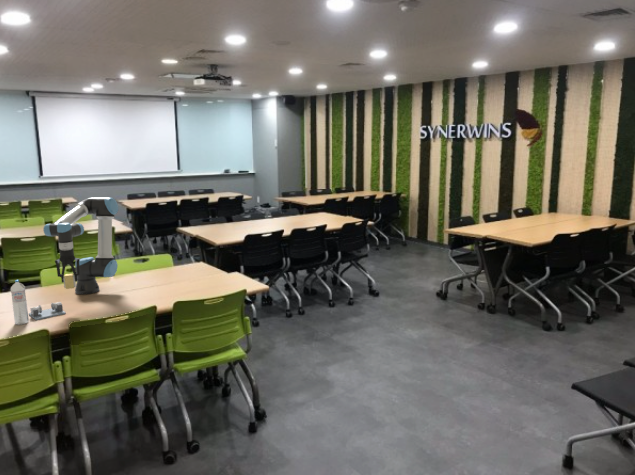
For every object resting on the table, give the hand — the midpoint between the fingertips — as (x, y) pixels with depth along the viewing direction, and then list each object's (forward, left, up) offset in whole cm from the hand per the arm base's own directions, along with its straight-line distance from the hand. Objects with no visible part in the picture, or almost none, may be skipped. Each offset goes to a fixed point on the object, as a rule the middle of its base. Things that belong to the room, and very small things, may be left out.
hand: (70, 287), depth 302 cm
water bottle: (+2, -28, -15) cm, 32 cm away
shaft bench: (-4, -13, -15) cm, 20 cm away
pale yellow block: (0, 0, 0) cm, 0 cm away
